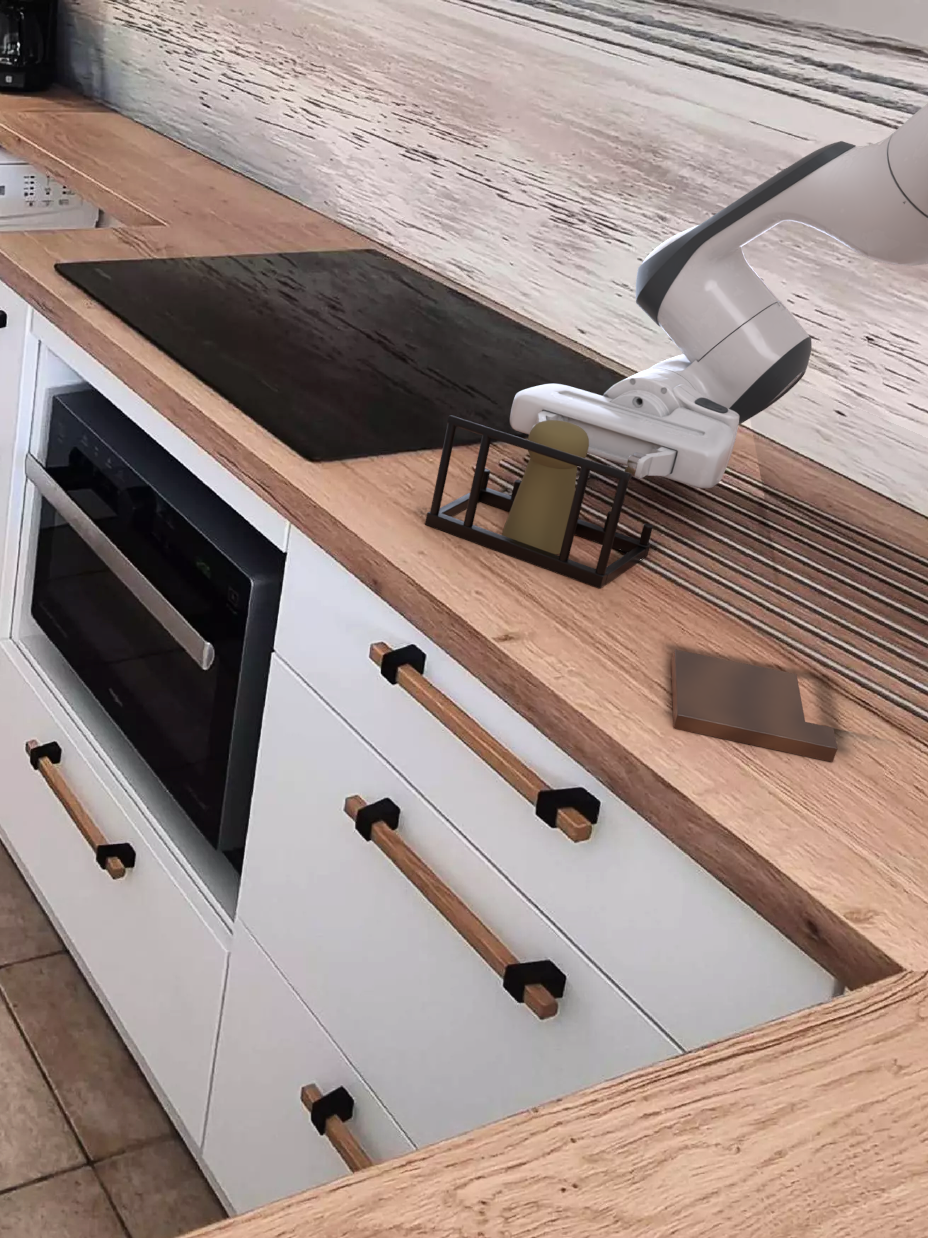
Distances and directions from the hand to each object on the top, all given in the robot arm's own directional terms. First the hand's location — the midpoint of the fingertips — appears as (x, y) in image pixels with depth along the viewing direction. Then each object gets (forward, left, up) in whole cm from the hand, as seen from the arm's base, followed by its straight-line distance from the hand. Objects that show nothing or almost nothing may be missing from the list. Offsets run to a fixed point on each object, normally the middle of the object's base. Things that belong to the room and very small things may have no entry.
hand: (584, 452), depth 151 cm
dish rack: (+3, +6, -7) cm, 9 cm away
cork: (+3, +6, -7) cm, 9 cm away
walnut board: (-14, +31, -7) cm, 35 cm away
